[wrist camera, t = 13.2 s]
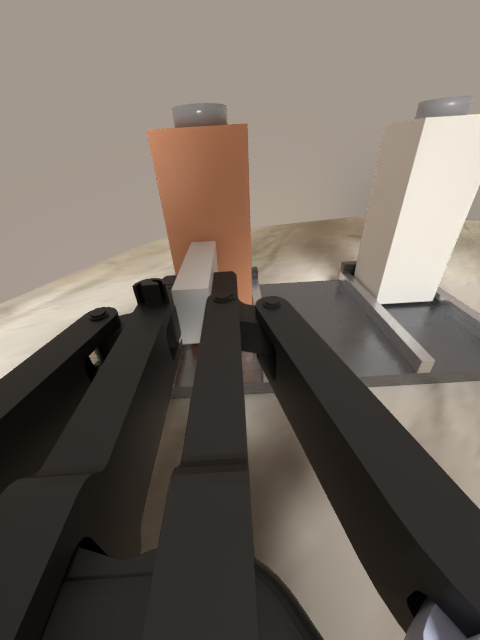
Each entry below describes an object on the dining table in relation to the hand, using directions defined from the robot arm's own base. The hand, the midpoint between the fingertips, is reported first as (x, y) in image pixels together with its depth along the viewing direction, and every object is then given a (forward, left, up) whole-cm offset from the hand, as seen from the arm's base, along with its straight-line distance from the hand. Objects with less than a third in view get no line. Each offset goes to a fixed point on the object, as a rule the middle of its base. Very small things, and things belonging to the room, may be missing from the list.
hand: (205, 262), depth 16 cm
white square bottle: (-16, -6, -6) cm, 19 cm away
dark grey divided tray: (-8, -3, -7) cm, 11 cm away
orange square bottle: (0, -3, -6) cm, 7 cm away
